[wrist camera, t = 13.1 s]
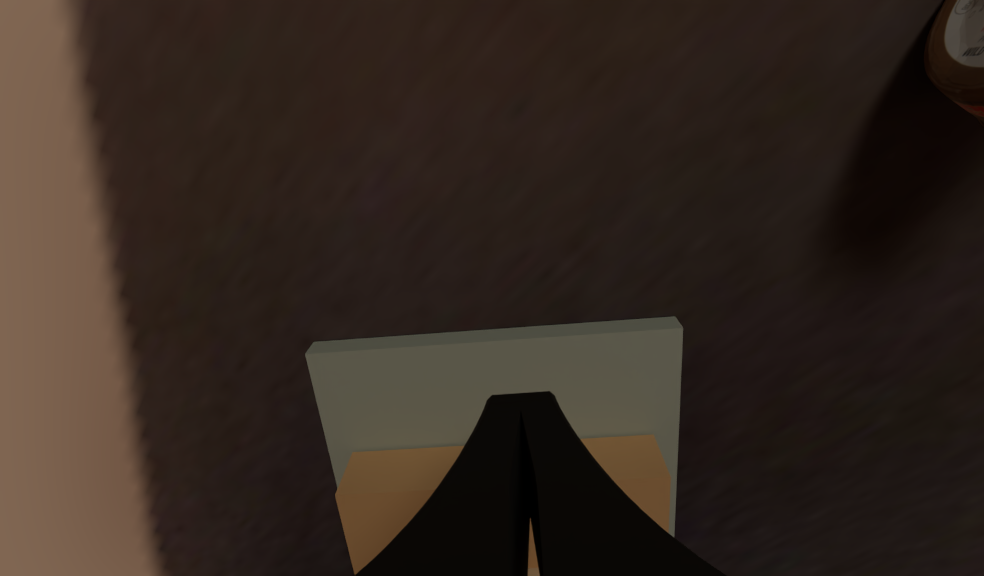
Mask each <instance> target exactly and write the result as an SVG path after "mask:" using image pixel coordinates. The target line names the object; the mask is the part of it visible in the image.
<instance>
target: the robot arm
mask: <svg viewBox="0 0 984 576" xmlns="http://www.w3.org/2000/svg"><path fill="white" fill-rule="evenodd" d="M530 519H531V525H532V531H533V537H534V544H535V550H536V556H537V562H538V568H539V575H540V576H726V575H725V574H723V573H722V572H720V571H719V570H717V569H716V568H714V567H713V566H711V565H710V564H709V563H707V562H706V561H704V560H703V559H701V558H700V557H698V556H697V555H696V554H695V553H693V552H692V551H691V550H689V549H688V548H687V547H686V546H684V545H683V544H682V543H681V542H679V541H678V540H677V539H675V538H674V537H673V536H672V535H670V534H669V533H668V532H666V531H665V530H664V529H663V528H662V527H661V526H659V525H658V524H657V523H656V522H655V521H654V520H653V519H652V518H651V517H649V516H648V515H647V514H646V513H645V512H644V511H643V510H642V509H641V508H640V507H639V506H638V505H637V504H636V503H634V502H633V501H632V500H631V499H630V498H629V497H628V496H627V495H626V494H625V493H624V492H623V490H622V489H621V488H620V487H619V486H618V485H617V484H616V483H615V482H614V481H613V480H612V479H611V477H610V476H609V475H608V474H607V473H606V472H605V470H604V469H603V468H602V467H601V466H600V465H599V463H598V462H597V461H596V460H595V458H594V457H593V456H592V455H591V453H590V452H589V451H588V449H587V448H586V446H585V445H584V444H583V442H582V441H581V440H580V438H579V437H578V436H577V434H576V433H575V431H574V430H573V428H572V427H571V425H570V423H569V422H568V420H567V419H566V417H565V415H564V413H563V412H562V410H561V408H560V406H559V404H558V402H557V400H556V397H555V395H554V394H553V393H551V392H550V391H543V392H528V393H514V394H499V395H491V396H490V397H489V398H488V399H487V401H486V404H485V407H484V409H483V411H482V414H481V416H480V418H479V420H478V422H477V424H476V426H475V428H474V430H473V432H472V434H471V435H470V437H469V439H468V441H467V442H466V444H465V446H464V448H463V449H462V451H461V453H460V454H459V456H458V458H457V459H456V461H455V462H454V464H453V465H452V467H451V468H450V470H449V471H448V473H447V474H446V475H445V477H444V478H443V480H442V481H441V483H440V484H439V486H438V487H437V488H436V490H435V491H434V492H433V494H432V495H431V496H430V498H429V499H428V500H427V501H426V503H425V504H424V505H423V506H422V508H421V509H420V510H419V511H418V512H417V513H416V515H415V516H414V517H413V518H412V519H411V520H410V522H409V523H408V524H407V525H406V526H405V527H404V528H403V529H402V530H401V531H400V532H399V533H398V534H397V535H396V537H395V538H394V539H393V540H392V541H391V542H390V543H389V544H388V545H387V546H386V547H385V548H384V549H383V550H382V551H381V552H380V553H379V554H378V555H377V556H376V557H375V558H374V559H373V560H372V561H370V562H369V563H368V564H367V565H366V566H365V567H364V568H362V569H361V570H360V571H359V572H358V573H357V574H356V575H354V576H528V557H529V533H530Z"/></svg>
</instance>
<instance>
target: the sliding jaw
mask: <svg viewBox="0 0 984 576" xmlns="http://www.w3.org/2000/svg"><path fill="white" fill-rule="evenodd" d="M580 440H581V441H582V442H583V444H584V445H585V446H586V448H587V449H588V451H589V452H590V453H591V455H592V456H593V457H594V458H595V460H596V461H597V462H598V463H599V465H600V466H601V467H602V468H603V469H604V470H605V472H606V473H607V474H608V475H609V476H610V477H611V479H612V480H613V481H614V482H615V483H616V484H617V485H618V486H619V487H620V488H621V489H622V490H623V492H624V493H625V494H626V495H627V496H628V497H629V498H630V499H631V500H632V501H633V502H634V503H636V504H637V505H638V506H639V507H640V508H641V509H642V510H643V511H644V512H645V513H646V514H647V515H648V516H649V517H651V518H652V519H653V520H654V521H655V522H656V523H657V524H658V525H659V526H661V527H662V528H663V529H664V530H665V531H666V532H668V533H669V511H670V484H671V476H670V474H669V471H668V469H667V466H666V464H665V461H664V459H663V456H662V454H661V452H660V449H659V447H658V444H657V442H656V439H655V437H654V434H652V435H635V436H619V437H602V438H585V439H580ZM463 448H464V446H449V447H432V448H415V449H398V450H381V451H364V452H352V454H351V457H350V459H349V462H348V464H347V467H346V469H345V472H344V474H343V477H342V479H341V482H340V484H339V487H338V489H337V492H336V494H335V497H336V501H337V505H338V509H339V513H340V517H341V521H342V525H343V529H344V533H345V537H346V541H347V546H348V550H349V554H350V558H351V562H352V566H353V570H354V574H355V575H356V574H357V573H358V572H359V571H360V570H361V569H362V568H364V567H365V566H366V565H367V564H368V563H369V562H370V561H372V560H373V559H374V558H375V557H376V556H377V555H378V554H379V553H380V552H381V551H382V550H383V549H384V548H385V547H386V546H387V545H388V544H389V543H390V542H391V541H392V540H393V539H394V538H395V537H396V535H397V534H398V533H399V532H400V531H401V530H402V529H403V528H404V527H405V526H406V525H407V524H408V523H409V522H410V520H411V519H412V518H413V517H414V516H415V515H416V513H417V512H418V511H419V510H420V509H421V508H422V506H423V505H424V504H425V503H426V501H427V500H428V499H429V498H430V496H431V495H432V494H433V492H434V491H435V490H436V488H437V487H438V486H439V484H440V483H441V481H442V480H443V478H444V477H445V475H446V474H447V473H448V471H449V470H450V468H451V467H452V465H453V464H454V462H455V461H456V459H457V458H458V456H459V454H460V453H461V451H462V449H463ZM528 568H538V562H537V556H536V550H535V544H534V537H533V531H532V525H531V519H530V533H529V557H528Z"/></svg>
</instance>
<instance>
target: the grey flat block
mask: <svg viewBox="0 0 984 576" xmlns="http://www.w3.org/2000/svg"><path fill="white" fill-rule="evenodd" d="M682 343H683V327H682V326H681V324H680V323H679V321H678V320H677V318H676V317H660V318H646V319H632V320H618V321H604V322H590V323H575V324H561V325H547V326H533V327H519V328H504V329H490V330H476V331H462V332H448V333H434V334H419V335H405V336H391V337H377V338H363V339H348V340H334V341H320V342H313V344H312V345H311V347H310V348H309V349H308V351H307V352H306V354H305V356H306V360H307V364H308V368H309V372H310V376H311V380H312V384H313V389H314V393H315V397H316V401H317V405H318V409H319V413H320V417H321V422H322V426H323V430H324V434H325V438H326V442H327V446H328V450H329V454H330V459H331V463H332V467H333V471H334V475H335V479H336V483H337V487H339V484H340V482H341V479H342V477H343V474H344V472H345V469H346V467H347V464H348V462H349V459H350V457H351V454H352V452H364V451H381V450H398V449H415V448H432V447H449V446H465V444H466V442H467V441H468V439H469V437H470V435H471V434H472V432H473V430H474V428H475V426H476V424H477V422H478V420H479V418H480V416H481V414H482V411H483V409H484V407H485V404H486V401H487V399H488V398H489V397H490V396H491V395H499V394H514V393H528V392H543V391H550V392H551V393H553V394H554V395H555V397H556V400H557V402H558V404H559V406H560V408H561V410H562V412H563V413H564V415H565V417H566V419H567V420H568V422H569V423H570V425H571V427H572V428H573V430H574V431H575V433H576V434H577V436H578V437H579V438H580V439H585V438H602V437H619V436H635V435H652V434H654V437H655V439H656V442H657V444H658V447H659V449H660V452H661V454H662V456H663V459H664V461H665V464H666V466H667V469H668V471H669V474H670V476H671V484H670V511H669V534H670V535H672V536H673V537H674V529H675V506H676V483H677V459H678V436H679V413H680V389H681V366H682Z"/></svg>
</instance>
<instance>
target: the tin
mask: <svg viewBox="0 0 984 576" xmlns="http://www.w3.org/2000/svg"><path fill="white" fill-rule="evenodd" d="M924 66H925V70H926V74H927V76H928V78H929V79H930V80H931V82H932V83H933V84H934V86H935V87H936V88H937V89H938V90H939V91H941V92H942V93H943V94H944V95H945V96H946V97H948V98H949V99H950V100H952V101H953V102H955V103H956V104H957V105H959V106H960V107H962V108H963V109H964V110H966V111H967V112H969V113H970V114H972V115H973V116H975V117H976V118H977V119H978V121H979V123H980V124H981V125H982V126H983V127H984V0H945V2H944V3H943V5H942V7H941V9H940V10H939V12H938V14H937V16H936V18H935V20H934V22H933V24H932V27H931V29H930V31H929V34H928V36H927V40H926V44H925V50H924Z"/></svg>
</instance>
